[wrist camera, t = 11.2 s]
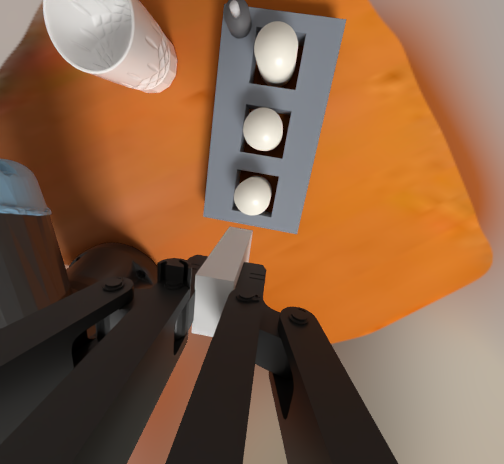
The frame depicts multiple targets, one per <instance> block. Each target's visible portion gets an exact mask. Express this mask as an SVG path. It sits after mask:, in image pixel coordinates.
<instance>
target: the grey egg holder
mask: <svg viewBox="0 0 504 464" xmlns="http://www.w3.org/2000/svg"><path fill="white" fill-rule="evenodd" d="M275 21H281V22H284V23H286V24H288V25H289V26H291V27H292V29H293V30H294V31H295V33H296V36H297V40H298V46H304V48H303V53H302V58H301V64H300V69H299V74H298V79H297V85H296V90H291V89H285V88H278V87H271V86H265V85H258V84H253V81H254V74H255V67H256V58H255V53H254V45H255V40H256V37H257V35H258V33H259V32H260V30H261V29H262V28H263V27H264V26H265V25H267V24H269V23H271V22H275ZM345 23H346V19H338V18H331V17H323V16H315V15H308V14H300V13H292V12H284V11H277V10H269V9H261V8H254V7H248V5H247V3H246V1H245V0H229V1H228V2H227V4H224V11H223V22H222V32H221V42H220V52H219V62H218V72H217V83H216V93H215V103H214V113H213V123H212V134H211V144H210V154H209V164H208V174H207V184H206V195H205V205H204V215H203V217H208V218H214V219H219V220H224V221H230V222H235V223H240V224H246V225H251V226H256V227H262V228H267V229H272V230H278V231H283V232H288V233H294V234H297V231H298V227H299V223H300V218H301V214H302V210H303V205H304V201H305V197H306V192H307V188H308V184H309V179H310V175H311V171H312V166H313V162H314V158H315V153H316V149H317V145H318V140H319V136H320V132H321V127H322V123H323V119H324V114H325V110H326V106H327V101H328V97H329V93H330V88H331V84H332V80H333V75H334V71H335V67H336V62H337V58H338V53H339V49H340V45H341V40H342V36H343V32H344V27H345ZM263 107H264V108H269V109H272V110H274V111H275V112H276V113H279V114H286V115H291V116H290V121H289V127H288V132H287V137H286V142H285V148H284V153H283V158H276V157H270V156H264V155H259V154H253V153H247V152H244V145H245V137H244V133H243V126H244V122H245V119H246V118H247V116H248V115H249V110H250V109H254V110H255V109H258V108H263ZM241 170H244V171H250V172H256V173H262V174H267V175H273V176H279V179H278V184H277V190H276V195H275V200H274V205H273V211H272V212H269V211H264V212H262V213H261V214H258V215H247V214H244V213H242V212H241V211H240V210H239V209H238V208H237V206H236V204H235V201H234V193H235V190H236V188H237V186H238V185H239V181H240V174H241Z"/></svg>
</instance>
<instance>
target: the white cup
mask: <svg viewBox="0 0 504 464" xmlns="http://www.w3.org/2000/svg"><path fill="white" fill-rule="evenodd" d="M43 14H44V20H45V25H46V28H47V31H48V34H49V36H50V38H51V41H52V42H53V44H54V46H55V48H56V49H57V51H58V52H59V53H60V54H61V56H62V57H63V58H64V59H65V60H66V61H67V62H68V63H70V64H71V65H72V66H74V67H75V68H77V69H79V70H81V71H83V72H86V73H89V74H92V75H95V76H98V77H100V78H103V79H106V80H108V81H111V82H114V83H117V84H120V85H123V86H126V87H129V88H133V89H138V90H141V91H143V92H146V93H160V92H162V91H163V90H165V89H166V88H168V87H169V86H170V85H171V83H172V81H173V79H174V78H175V76H176V70H177V57H176V53H175V50H174V46H173V44H172V43H171V42H170V40H169V39H168V38H167V36H166V35H165V34H164V33H163V31H162V30H161V28H160V26H159V25H158V24H157V22H156V21H155V20H154V18H153V17H152V16H151V15H150V14H149V12H148V11H147V9H146V8H145V7H144V6H143V5H142V3H141V2H140V1H139V0H43Z"/></svg>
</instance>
